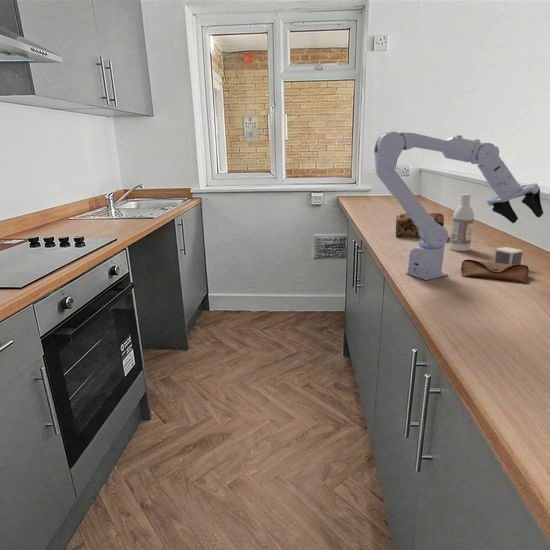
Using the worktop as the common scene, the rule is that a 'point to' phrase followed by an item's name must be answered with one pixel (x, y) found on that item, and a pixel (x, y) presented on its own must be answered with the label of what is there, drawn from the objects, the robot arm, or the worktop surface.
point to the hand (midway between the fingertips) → (527, 218)
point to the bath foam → (462, 225)
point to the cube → (508, 256)
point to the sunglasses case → (495, 271)
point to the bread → (413, 225)
